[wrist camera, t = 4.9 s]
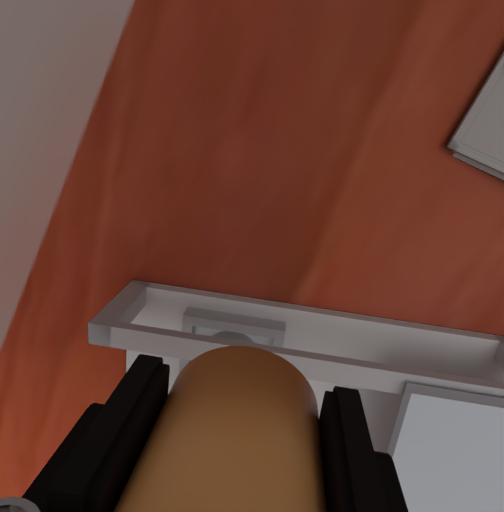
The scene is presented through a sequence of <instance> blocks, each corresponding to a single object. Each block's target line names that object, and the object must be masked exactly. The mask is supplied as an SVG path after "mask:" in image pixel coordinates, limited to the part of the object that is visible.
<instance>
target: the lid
mask: <svg viewBox="0 0 504 512" xmlns="http://www.w3.org/2000/svg"><path fill="white" fill-rule="evenodd" d="M387 453H389V455H390V456H391V457H392V459H393V462H394V465H395V468H396V472H397V475H398V478H399V482H400V485H401V488H402V492H403V495H404V498H405V502H406V505H407V508H408V512H504V398H498V397H492V396H486V395H480V394H474V393H467V392H461V391H455V390H449V389H442V388H436V387H430V386H424V385H418V384H411V383H407V385H406V388H405V392H404V395H403V399H402V402H401V406H400V409H399V413H398V416H397V420H396V423H395V427H394V430H393V434H392V437H391V441H390V444H389V448H388V451H387Z"/></svg>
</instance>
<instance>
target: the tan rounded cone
mask: <svg viewBox="0 0 504 512" xmlns="http://www.w3.org/2000/svg"><path fill="white" fill-rule="evenodd" d="M113 512H327V508H326V496H325V484H324V473H323V461H322V450H321V438H320V427H319V414H318V405H317V400H316V397H315V394H314V391H313V389H312V387H311V385H310V384H309V382H308V381H307V379H306V378H305V376H304V375H303V374H302V373H301V372H300V371H299V370H298V369H297V368H296V367H295V366H294V365H292V364H291V363H290V362H289V361H287V360H285V359H284V358H282V357H281V356H279V355H276V354H274V353H272V352H270V351H267V350H264V349H260V348H256V347H250V346H226V347H220V348H216V349H212V350H210V351H207V352H205V353H203V354H201V355H199V356H197V357H196V358H194V359H193V360H192V361H190V362H189V363H188V364H187V365H186V366H185V367H184V368H183V369H182V370H181V372H180V373H179V374H178V376H177V378H176V380H175V382H174V384H173V386H172V388H171V390H170V392H169V394H168V396H167V398H166V401H165V403H164V405H163V407H162V409H161V411H160V413H159V415H158V418H157V420H156V422H155V424H154V426H153V428H152V430H151V433H150V435H149V437H148V439H147V441H146V443H145V445H144V447H143V450H142V452H141V454H140V456H139V458H138V460H137V462H136V464H135V467H134V469H133V471H132V473H131V475H130V477H129V479H128V482H127V484H126V486H125V488H124V490H123V492H122V494H121V496H120V499H119V501H118V503H117V505H116V507H115V509H114V511H113Z"/></svg>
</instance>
